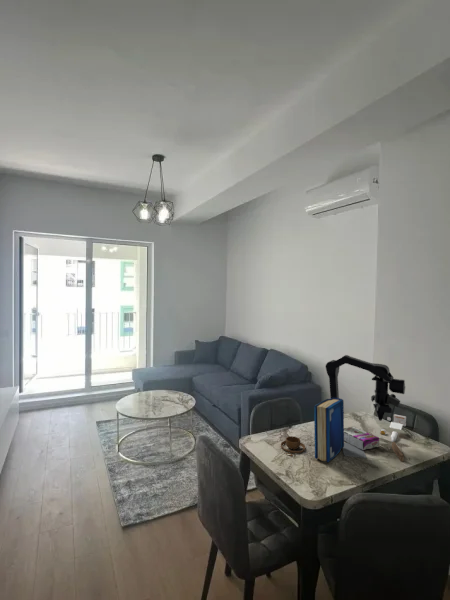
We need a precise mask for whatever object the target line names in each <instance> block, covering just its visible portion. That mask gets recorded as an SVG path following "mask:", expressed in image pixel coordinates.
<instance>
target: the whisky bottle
mask: <svg viewBox="0 0 450 600" xmlns="http://www.w3.org/2000/svg"><path fill="white" fill-rule="evenodd" d="M386 419H387V421H389V422H390V421H391V420H392V418H391V417H389V416H387V417H386ZM406 426H407V416H405V415H399V414H393V421H391V422H390V424H389V427H388V428H389V429H395V430H393V431H391V435H390V440H391V443H392V442H395V441H396V440H397V439H398V438H397V437H398V435H399V433H398V431H396V430H399V431H402V428H403V427H406ZM379 433H380V435H384V436H385V435H386V434H387V430H386V429H384V428H381V430H380V432H379Z"/></svg>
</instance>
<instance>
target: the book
mask: <svg viewBox="0 0 450 600" xmlns="http://www.w3.org/2000/svg"><path fill="white" fill-rule="evenodd" d="M344 406H345V405H344V399H342V398H340V397H339V398H325V399H324V400H322V401H320V402H319V403H317V404H315V405H314V407H313V411H314V413H313V414H314V416H313V419H314V423H313V424H314V429H313V430H314V458H315V460H320V461H323V462H325V461H326V463H329V462H331V461H332V460H333V459H334V458H336V456H337V455H338V454H340V453H341V450H342V448H343V447H344V443H345V441H344V428H345V420H344V417H345V415H344V413H345V411H344V410H345V408H344Z"/></svg>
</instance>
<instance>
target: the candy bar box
mask: <svg viewBox="0 0 450 600" xmlns="http://www.w3.org/2000/svg"><path fill="white" fill-rule="evenodd" d="M344 442H345V443H350V444H352V445H354V446H356V447H358V448H359V449H361V450H364V451H366V450H371V449H375V448H379V447H380V437H378V436H376V435H374V434H371V433H369V432H368V431H365V430H363V429H361V428H358V427H356V426H351V427H349V426H348V427H344Z"/></svg>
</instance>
